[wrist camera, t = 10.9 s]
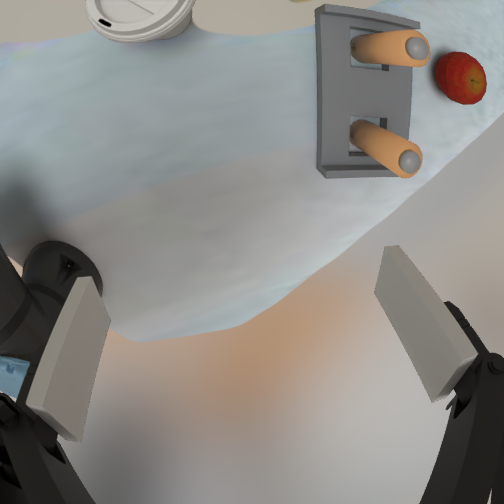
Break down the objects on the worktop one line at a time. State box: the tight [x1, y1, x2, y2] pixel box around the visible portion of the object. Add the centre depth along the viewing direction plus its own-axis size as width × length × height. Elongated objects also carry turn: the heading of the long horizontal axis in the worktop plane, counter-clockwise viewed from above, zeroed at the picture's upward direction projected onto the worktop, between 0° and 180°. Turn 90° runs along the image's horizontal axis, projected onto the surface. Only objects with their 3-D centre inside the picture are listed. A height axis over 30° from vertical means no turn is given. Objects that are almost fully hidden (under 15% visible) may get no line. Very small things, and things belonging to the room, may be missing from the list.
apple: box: [435, 52, 487, 105], centre depth 30 cm, size 8×8×8 cm
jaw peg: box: [349, 120, 422, 178], centre depth 33 cm, size 4×4×13 cm
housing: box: [315, 4, 430, 179], centre depth 30 cm, size 13×22×13 cm, turn 3°
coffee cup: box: [86, 0, 196, 43], centre depth 21 cm, size 10×10×15 cm
